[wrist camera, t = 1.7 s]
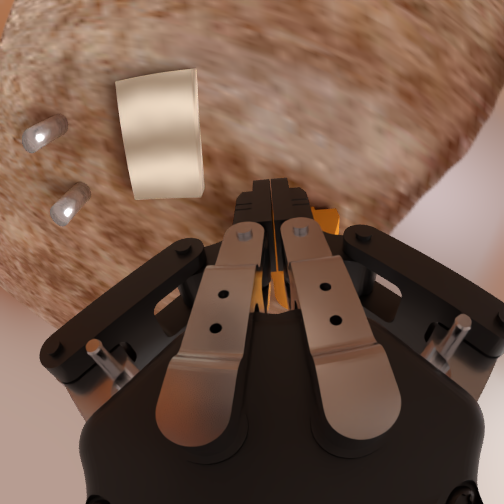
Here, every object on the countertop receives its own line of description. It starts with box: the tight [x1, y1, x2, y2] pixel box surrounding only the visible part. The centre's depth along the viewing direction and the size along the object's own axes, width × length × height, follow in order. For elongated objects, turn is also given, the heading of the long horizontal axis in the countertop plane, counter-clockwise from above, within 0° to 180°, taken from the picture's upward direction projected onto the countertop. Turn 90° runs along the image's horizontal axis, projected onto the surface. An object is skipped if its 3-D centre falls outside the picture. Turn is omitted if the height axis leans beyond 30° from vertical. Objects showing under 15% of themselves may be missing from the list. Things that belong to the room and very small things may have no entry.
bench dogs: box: [22, 114, 91, 226], centre depth 27 cm, size 13×3×6 cm, turn 7°
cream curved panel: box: [115, 68, 205, 200], centre depth 28 cm, size 14×8×3 cm, turn 0°
